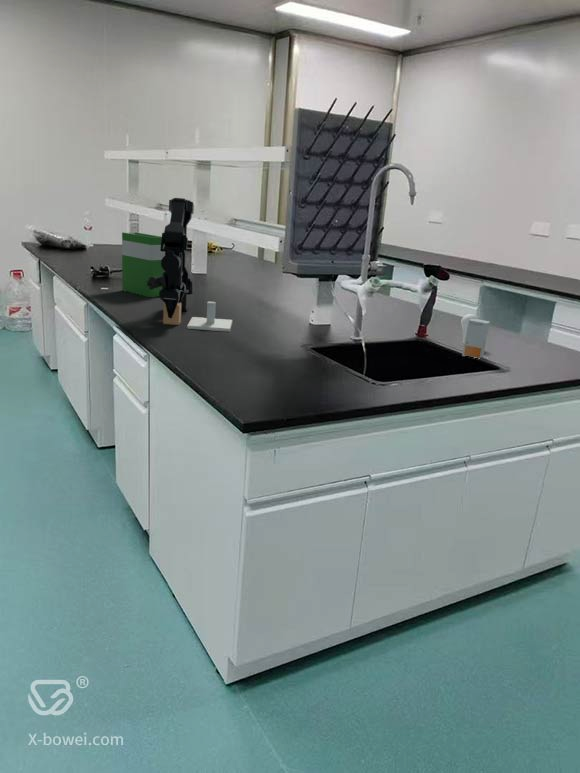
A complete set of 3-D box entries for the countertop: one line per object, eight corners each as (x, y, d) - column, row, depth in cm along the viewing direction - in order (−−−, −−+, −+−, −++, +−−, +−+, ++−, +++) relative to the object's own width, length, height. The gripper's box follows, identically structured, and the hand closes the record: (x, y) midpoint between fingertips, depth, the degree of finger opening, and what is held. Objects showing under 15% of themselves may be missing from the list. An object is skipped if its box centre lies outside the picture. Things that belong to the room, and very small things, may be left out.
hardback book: (122, 290, 252) (122, 232, 244) (136, 289, 257) (136, 232, 250) (149, 297, 242) (150, 237, 235) (163, 296, 248) (164, 237, 240)
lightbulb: (465, 347, 204) (471, 316, 200) (453, 343, 209) (458, 312, 205) (478, 347, 206) (484, 316, 203) (466, 342, 211) (471, 312, 208)
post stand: (192, 319, 209) (193, 297, 207) (232, 322, 210) (233, 300, 208) (187, 328, 196) (188, 304, 194) (229, 331, 197) (231, 307, 195)
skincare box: (461, 356, 192) (468, 319, 188) (464, 353, 195) (471, 318, 192) (480, 360, 189) (487, 323, 185) (483, 357, 193) (490, 321, 189)
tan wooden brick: (165, 320, 205) (166, 301, 203) (180, 321, 205) (181, 302, 203) (163, 323, 200) (163, 304, 198) (178, 324, 200) (179, 305, 198)
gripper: (154, 263, 205) (153, 308, 210) (143, 270, 188) (142, 319, 192) (186, 266, 206) (185, 310, 211) (178, 273, 188) (177, 321, 193)
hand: (172, 315), depth 202 cm, fingers open, 9 cm apart
